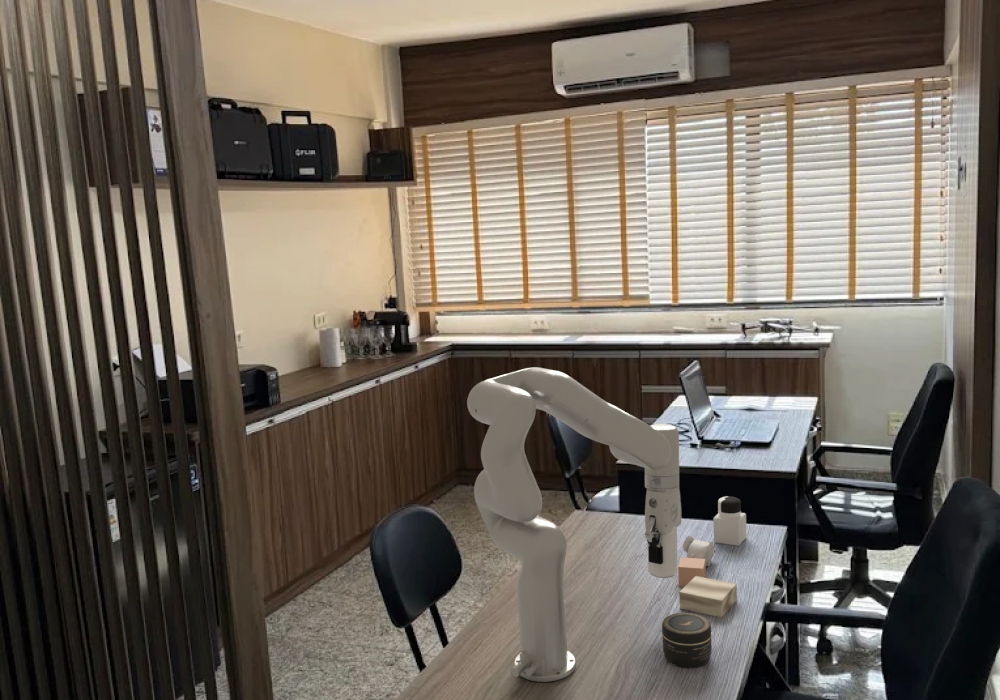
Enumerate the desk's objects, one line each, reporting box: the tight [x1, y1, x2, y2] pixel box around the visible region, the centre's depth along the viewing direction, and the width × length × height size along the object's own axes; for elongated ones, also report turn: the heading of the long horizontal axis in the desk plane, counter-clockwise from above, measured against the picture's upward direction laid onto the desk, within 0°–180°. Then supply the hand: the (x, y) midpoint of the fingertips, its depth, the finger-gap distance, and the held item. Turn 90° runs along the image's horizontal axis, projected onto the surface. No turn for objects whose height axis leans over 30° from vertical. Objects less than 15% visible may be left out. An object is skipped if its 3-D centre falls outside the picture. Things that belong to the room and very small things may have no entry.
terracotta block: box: [677, 557, 707, 587], centre depth 210 cm, size 6×6×5 cm
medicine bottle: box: [712, 495, 747, 547], centre depth 235 cm, size 7×7×12 cm
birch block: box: [679, 576, 738, 618], centre depth 198 cm, size 10×10×4 cm
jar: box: [661, 612, 713, 669], centre depth 174 cm, size 10×10×8 cm
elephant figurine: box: [682, 535, 717, 567], centre depth 220 cm, size 8×10×7 cm
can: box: [647, 526, 678, 579], centre depth 190 cm, size 6×6×12 cm
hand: (662, 556), depth 191 cm, fingers closed on can, 6 cm apart
